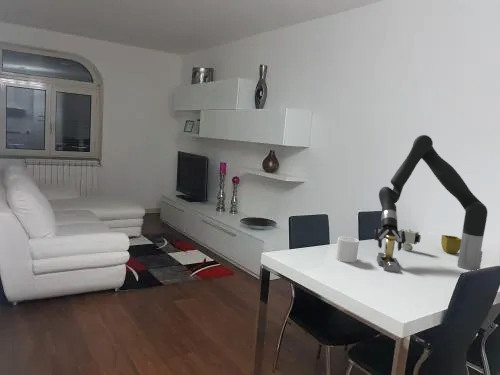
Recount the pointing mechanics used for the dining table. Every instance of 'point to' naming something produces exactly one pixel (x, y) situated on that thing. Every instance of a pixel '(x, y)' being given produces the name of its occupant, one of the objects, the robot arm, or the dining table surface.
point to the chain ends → (388, 263)
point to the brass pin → (389, 247)
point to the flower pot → (450, 244)
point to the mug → (347, 249)
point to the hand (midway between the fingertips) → (389, 248)
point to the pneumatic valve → (410, 239)
